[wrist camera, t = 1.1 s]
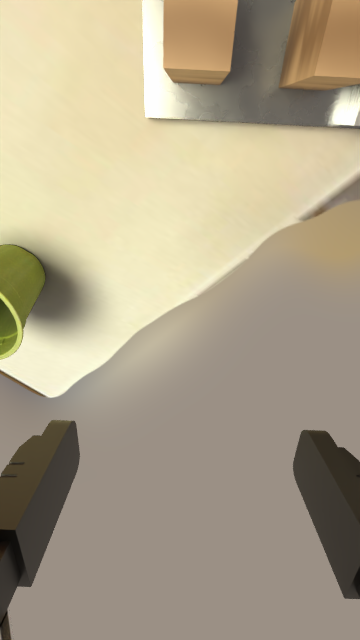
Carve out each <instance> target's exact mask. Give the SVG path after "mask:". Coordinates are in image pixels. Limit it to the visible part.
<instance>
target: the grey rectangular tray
mask: <svg viewBox="0 0 360 640" xmlns="http://www.w3.org/2000/svg"><path fill="white" fill-rule="evenodd" d="M295 1H296V0H238V4H237V13H236V22H235V31H234V40H233V49H232V58H231V67H230V72H229V74H228V75H227V76H226V78H225V79H224V80H223V82H222V83H221V84H220V85H207V84H188V83H173V82H172V80H171V79H170V77H169V76H168V74H167V73H166V72H165V70H164V69H163V8H164V0H142V15H143V56H144V96H145V117H152V118H171V119H189V120H208V121H227V122H246V123H265V124H283V125H302V126H321V127H340V128H359V129H360V84H356V85H351V86H346V87H341V88H336V89H331V90H326V91H324V90H304V89H285V88H279V82H280V77H281V72H282V67H283V62H284V56H285V51H286V46H287V41H288V36H289V30H290V25H291V20H292V15H293V10H294V5H295Z"/></svg>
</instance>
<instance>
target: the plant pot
mask: <svg viewBox="0 0 360 640" xmlns="http://www.w3.org/2000/svg"><path fill="white" fill-rule="evenodd" d="M44 283H45V273H44V269H43V267H42V265H41V263H40V262H39V261H38V259H37V258H36V257H35V256H34V255H33V254H31V253H29V252H27V251H25V250H24V249H22V248H20V247H19V246H15V245H0V360H1V359H4V358H7V357H9V356H11V355H12V354H13V353H15V352H16V351H17V349H18V348H19V346H20V345H21V342H22V339H23V328H24V326H25V323H26V319H27V317H28V315H29V313H30V311H31V309H32V307H33V305H34V303H35V301H36V300H37V298H38V296H39V294H40V292H41V290H42V288H43V286H44Z"/></svg>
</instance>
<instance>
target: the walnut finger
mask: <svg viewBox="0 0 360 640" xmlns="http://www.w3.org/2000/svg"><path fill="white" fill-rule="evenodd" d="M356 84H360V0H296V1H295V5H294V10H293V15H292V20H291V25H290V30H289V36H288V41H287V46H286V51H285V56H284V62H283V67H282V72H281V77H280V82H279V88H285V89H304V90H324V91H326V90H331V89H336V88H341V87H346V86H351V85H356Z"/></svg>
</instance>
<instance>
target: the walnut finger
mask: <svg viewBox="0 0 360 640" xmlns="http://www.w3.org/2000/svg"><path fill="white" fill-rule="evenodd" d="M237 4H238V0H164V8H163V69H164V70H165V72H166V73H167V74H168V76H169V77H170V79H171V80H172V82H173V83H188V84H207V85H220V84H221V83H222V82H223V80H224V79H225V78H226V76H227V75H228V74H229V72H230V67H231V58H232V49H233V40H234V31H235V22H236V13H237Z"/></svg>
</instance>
